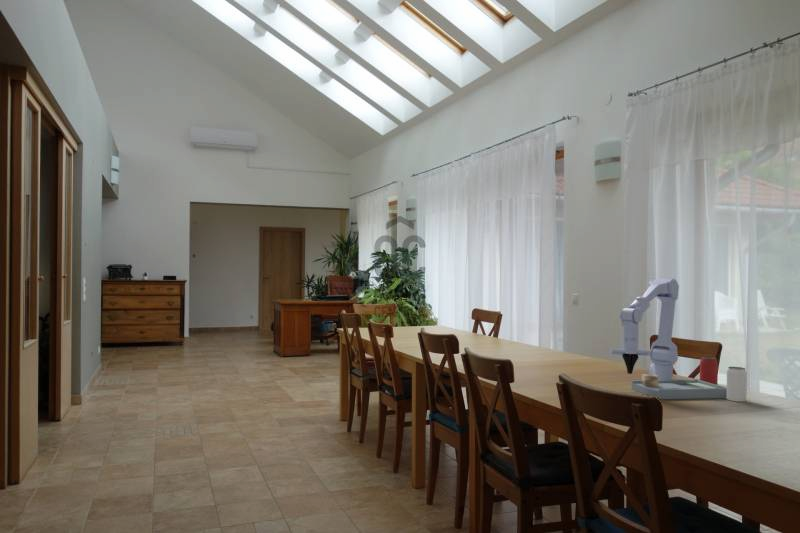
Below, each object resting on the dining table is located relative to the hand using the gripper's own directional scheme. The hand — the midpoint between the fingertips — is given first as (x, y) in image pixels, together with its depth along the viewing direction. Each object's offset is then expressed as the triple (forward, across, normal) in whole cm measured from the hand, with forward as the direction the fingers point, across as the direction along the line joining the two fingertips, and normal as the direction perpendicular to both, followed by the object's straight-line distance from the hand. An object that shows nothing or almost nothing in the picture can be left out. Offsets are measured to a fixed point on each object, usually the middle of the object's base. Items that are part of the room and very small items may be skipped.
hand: (629, 373), depth 242 cm
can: (+7, +36, -9) cm, 38 cm away
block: (+4, +8, 0) cm, 9 cm away
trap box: (+7, +18, 0) cm, 19 cm away
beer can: (+7, +35, +18) cm, 40 cm away
